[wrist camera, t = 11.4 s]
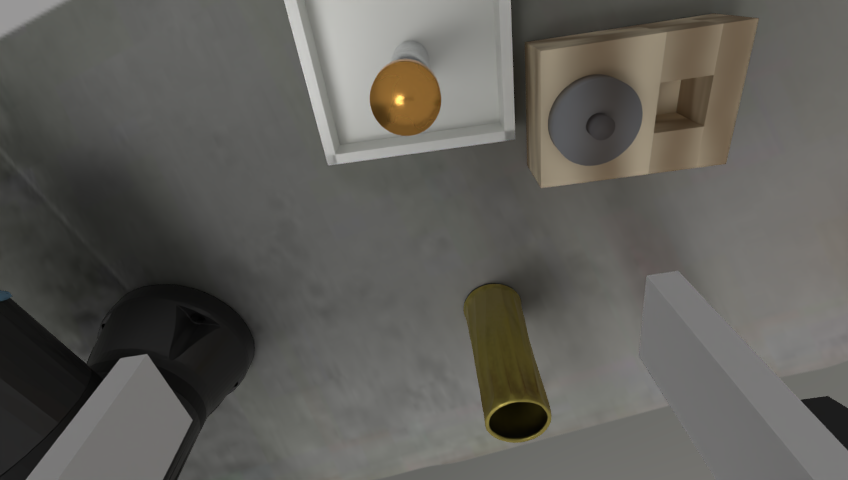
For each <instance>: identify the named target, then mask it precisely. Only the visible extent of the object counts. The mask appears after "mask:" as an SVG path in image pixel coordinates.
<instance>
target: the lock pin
mask: <svg viewBox="0 0 848 480" xmlns="http://www.w3.org/2000/svg"><path fill="white" fill-rule="evenodd" d="M370 106H371V110H372V113H373V115H374V117H375V119H376V120H377V121H378V123H379V124H380V125H381V126H382V127H383V128H385V129H386V130H388V131H389V132H391V133H393V134H397V135H401V136H411V135H416V134H419V133H421V132H423V131H425V130H426V129H428V128H429V127H430V126H431V125H432V124H433V123H434V121H435V120H436V118H437V116H438V114H439V111H440V107H441V92H440V87H439V83H438V81H437V78H436V77H435V75H434V73H433V72H432V71H431V70H430V63H429V55H428V52H427V50H426V49H425V47H424V46H423V45H422V44H420V43H419V42H416V41H412V40H409V41H405V42H402V43H401V44H399V45H398V46H397V48H396V49H395V51H394V53H393V56H392V58H391V61H390V63H389V64H387V65H386V66H384V67H383V68H382V69H381V70H380V72H379V73H378V74H377V76H376V78H375V80H374V82H373V84H372V87H371V91H370Z"/></svg>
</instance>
